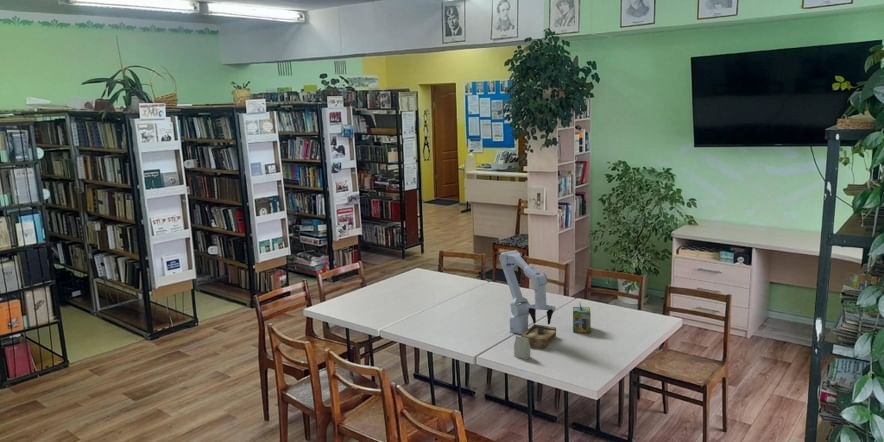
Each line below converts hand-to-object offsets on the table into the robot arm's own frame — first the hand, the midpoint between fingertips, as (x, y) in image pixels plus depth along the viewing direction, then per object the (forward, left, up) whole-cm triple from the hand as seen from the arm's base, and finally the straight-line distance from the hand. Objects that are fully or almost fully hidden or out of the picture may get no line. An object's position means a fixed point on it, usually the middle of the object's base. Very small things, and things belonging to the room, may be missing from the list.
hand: (541, 323), depth 311 cm
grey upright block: (-2, -22, -10) cm, 24 cm away
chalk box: (+13, +24, -10) cm, 29 cm away
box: (-2, 0, -10) cm, 10 cm away
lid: (-1, 0, -6) cm, 6 cm away
